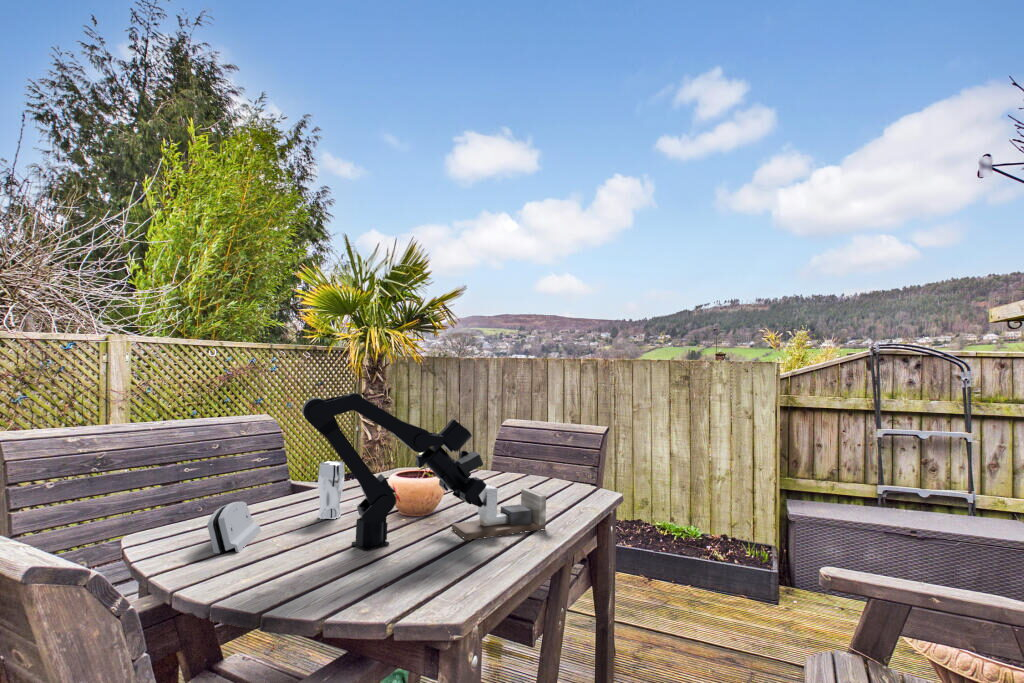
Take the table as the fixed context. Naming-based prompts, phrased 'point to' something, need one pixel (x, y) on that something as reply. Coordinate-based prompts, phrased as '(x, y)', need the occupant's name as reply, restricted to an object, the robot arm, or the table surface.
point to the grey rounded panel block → (232, 527)
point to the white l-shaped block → (490, 508)
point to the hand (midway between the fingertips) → (481, 505)
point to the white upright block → (330, 489)
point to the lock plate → (510, 518)
